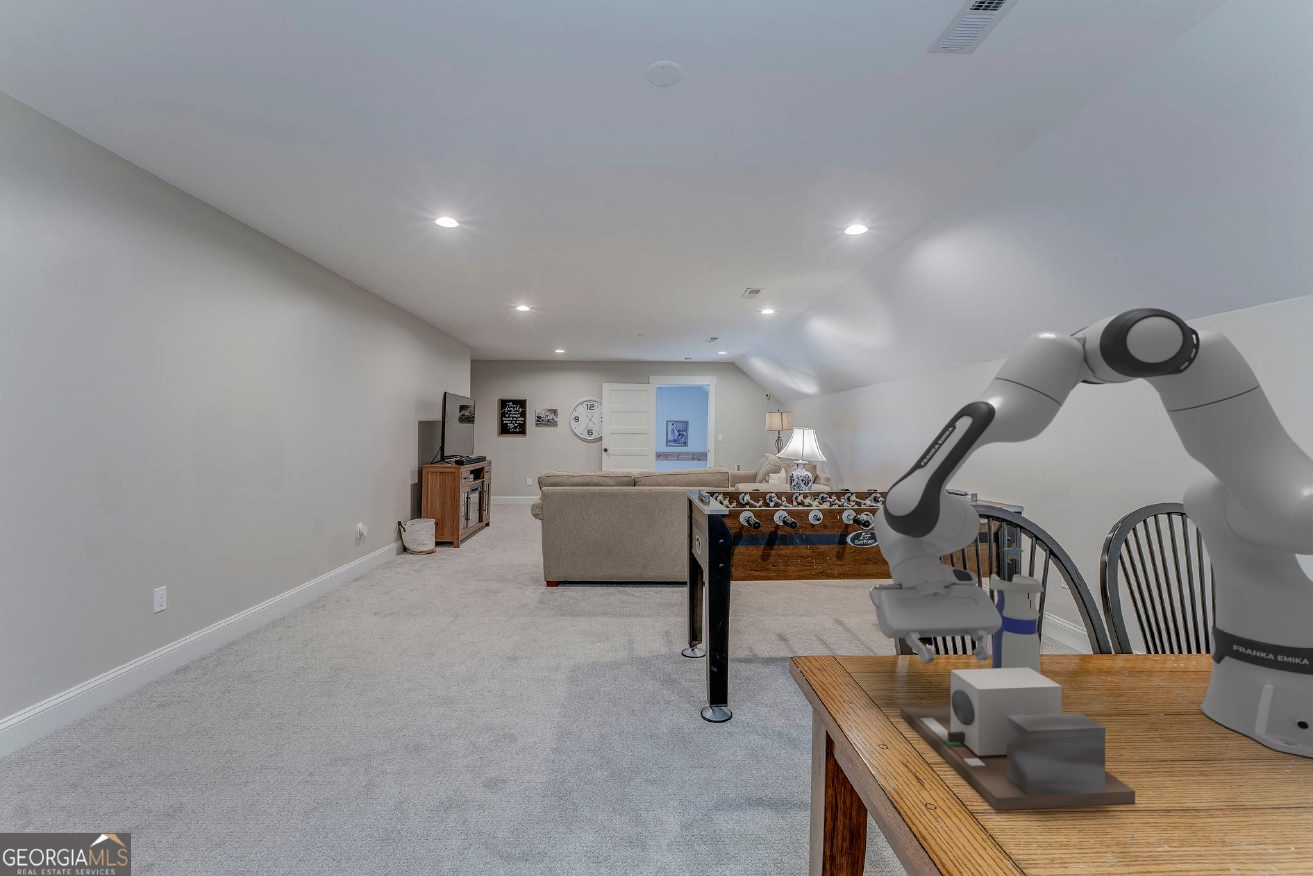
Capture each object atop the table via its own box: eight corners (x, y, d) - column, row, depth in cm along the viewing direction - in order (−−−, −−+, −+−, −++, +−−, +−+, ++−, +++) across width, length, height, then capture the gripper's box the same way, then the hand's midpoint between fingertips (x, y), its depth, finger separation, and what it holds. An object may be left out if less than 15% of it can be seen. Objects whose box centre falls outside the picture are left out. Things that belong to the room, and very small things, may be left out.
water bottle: (977, 673, 103) (978, 542, 103) (1023, 674, 103) (1024, 542, 102) (1003, 693, 95) (1004, 551, 94) (1053, 694, 94) (1054, 552, 94)
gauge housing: (936, 731, 79) (936, 670, 79) (1028, 728, 80) (1028, 667, 80) (974, 767, 70) (975, 698, 70) (1077, 762, 71) (1077, 695, 71)
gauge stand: (900, 715, 87) (900, 657, 87) (1006, 711, 88) (1006, 654, 88) (996, 810, 65) (996, 732, 65) (1135, 803, 67) (1135, 726, 66)
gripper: (872, 575, 94) (902, 654, 84) (983, 572, 95) (1026, 649, 86) (860, 593, 98) (888, 670, 89) (967, 590, 100) (1005, 666, 90)
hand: (956, 660), depth 87 cm, fingers open, 8 cm apart
